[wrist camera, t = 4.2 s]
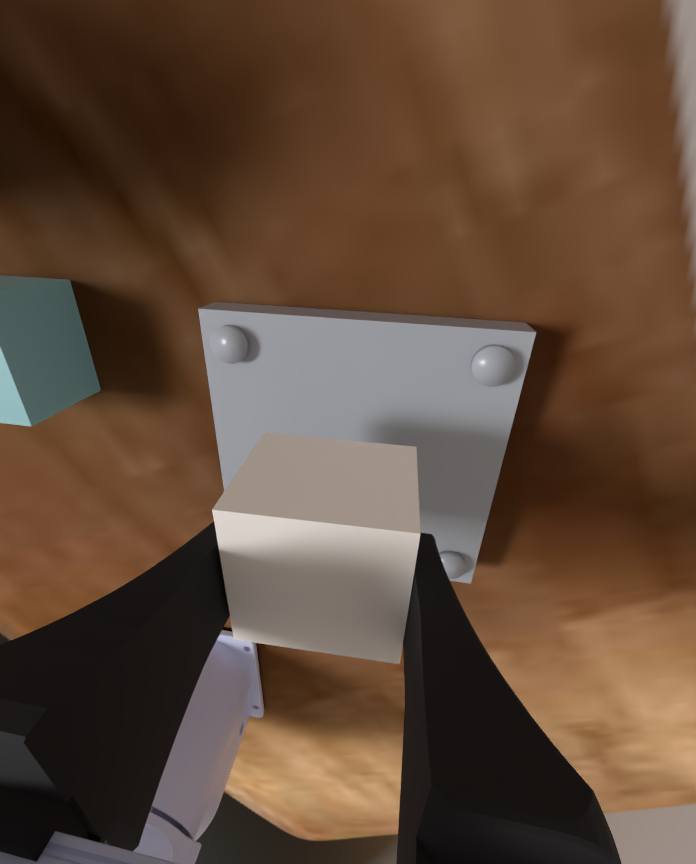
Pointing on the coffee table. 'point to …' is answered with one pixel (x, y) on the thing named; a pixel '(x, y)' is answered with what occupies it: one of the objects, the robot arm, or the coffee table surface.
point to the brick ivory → (321, 545)
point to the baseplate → (376, 398)
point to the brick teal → (41, 350)
